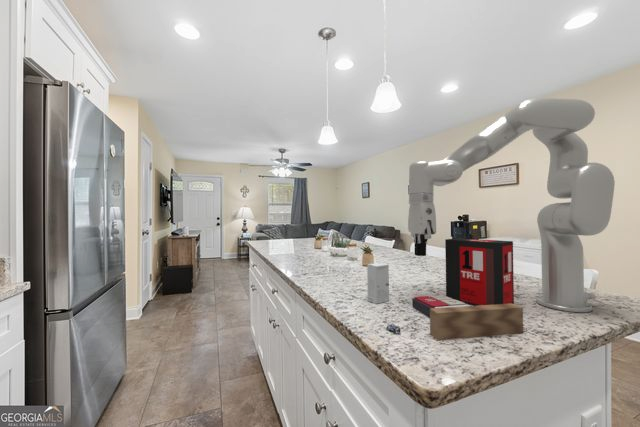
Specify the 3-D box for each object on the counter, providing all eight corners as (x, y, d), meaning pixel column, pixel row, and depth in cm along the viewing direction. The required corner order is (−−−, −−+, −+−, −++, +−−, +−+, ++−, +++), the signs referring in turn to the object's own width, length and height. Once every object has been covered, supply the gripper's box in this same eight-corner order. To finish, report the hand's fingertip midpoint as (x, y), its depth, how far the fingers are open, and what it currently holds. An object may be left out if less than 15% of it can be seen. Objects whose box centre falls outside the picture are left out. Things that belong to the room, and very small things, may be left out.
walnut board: (512, 327, 65) (511, 303, 65) (523, 332, 62) (522, 307, 62) (430, 334, 62) (429, 308, 62) (437, 340, 59) (437, 313, 59)
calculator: (443, 293, 83) (480, 307, 68) (444, 307, 83) (481, 324, 68) (411, 295, 81) (442, 310, 66) (412, 310, 81) (443, 327, 66)
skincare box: (376, 304, 83) (376, 266, 83) (366, 300, 87) (366, 264, 87) (390, 300, 86) (389, 264, 87) (379, 297, 90) (379, 262, 90)
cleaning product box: (446, 299, 88) (445, 239, 89) (458, 294, 94) (458, 238, 94) (502, 313, 75) (501, 243, 75) (513, 306, 80) (512, 241, 81)
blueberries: (401, 326, 69) (401, 318, 69) (417, 337, 61) (417, 328, 61) (377, 328, 68) (376, 320, 68) (390, 339, 60) (389, 331, 60)
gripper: (445, 198, 79) (444, 259, 79) (419, 201, 94) (419, 252, 94) (422, 197, 78) (421, 259, 78) (399, 200, 93) (399, 252, 93)
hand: (420, 255), depth 86 cm, fingers closed
